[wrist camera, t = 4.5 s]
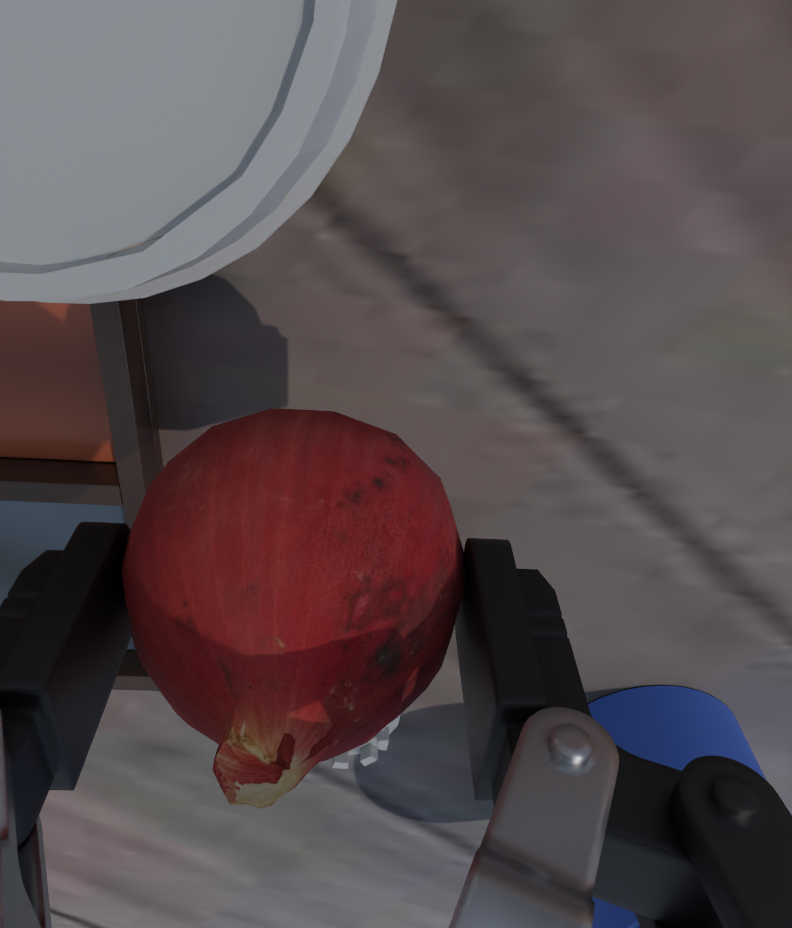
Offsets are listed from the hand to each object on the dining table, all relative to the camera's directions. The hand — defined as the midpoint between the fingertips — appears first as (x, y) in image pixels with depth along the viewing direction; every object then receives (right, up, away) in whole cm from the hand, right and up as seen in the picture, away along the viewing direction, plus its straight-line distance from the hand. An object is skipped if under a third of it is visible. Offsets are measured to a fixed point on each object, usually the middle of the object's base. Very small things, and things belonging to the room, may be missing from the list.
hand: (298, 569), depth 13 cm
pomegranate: (0, +2, +3) cm, 4 cm away
